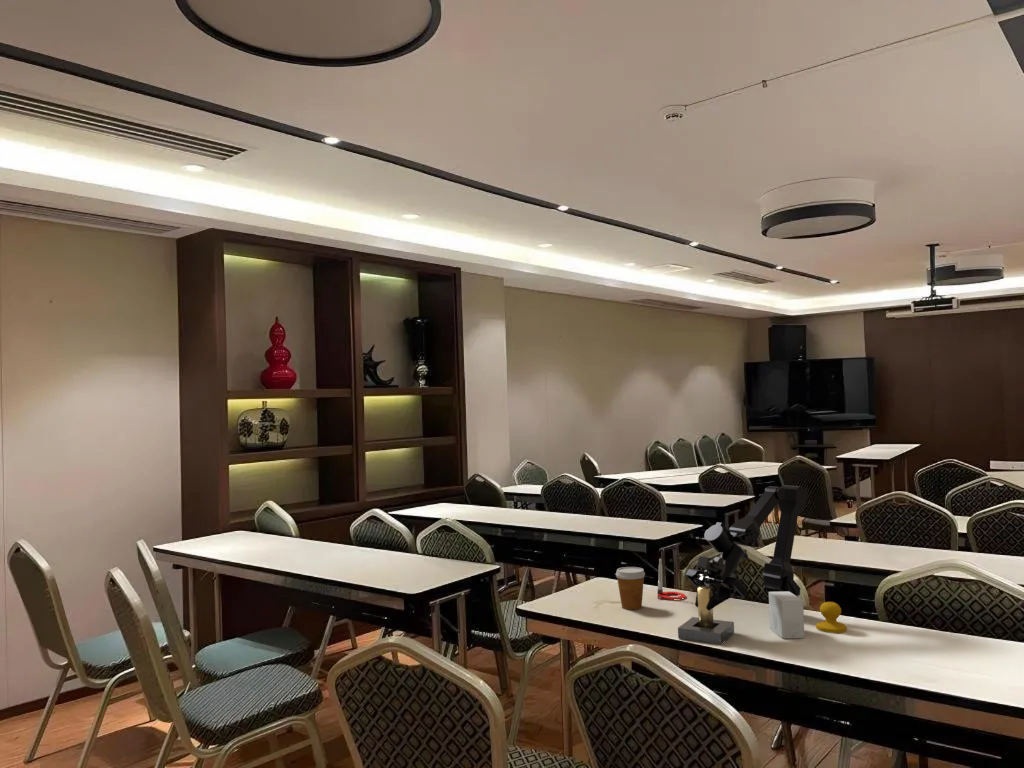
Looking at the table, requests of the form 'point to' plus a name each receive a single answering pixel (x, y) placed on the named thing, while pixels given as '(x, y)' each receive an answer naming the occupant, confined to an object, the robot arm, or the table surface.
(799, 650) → the table surface
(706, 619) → the brass pin
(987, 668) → the table surface
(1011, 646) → the table surface
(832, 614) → the doorknob
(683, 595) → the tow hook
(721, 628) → the block
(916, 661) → the table surface
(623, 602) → the disposable coffee cup
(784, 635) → the skincare box
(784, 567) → the robot arm
